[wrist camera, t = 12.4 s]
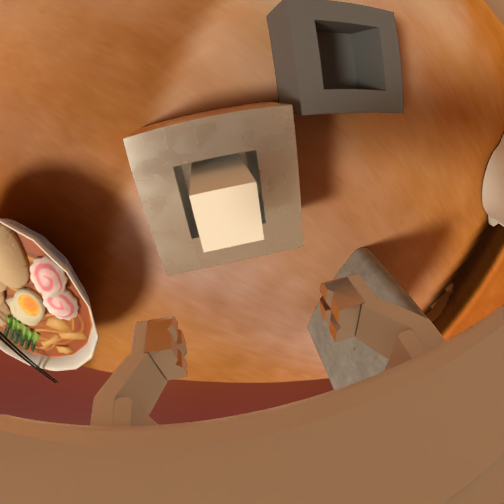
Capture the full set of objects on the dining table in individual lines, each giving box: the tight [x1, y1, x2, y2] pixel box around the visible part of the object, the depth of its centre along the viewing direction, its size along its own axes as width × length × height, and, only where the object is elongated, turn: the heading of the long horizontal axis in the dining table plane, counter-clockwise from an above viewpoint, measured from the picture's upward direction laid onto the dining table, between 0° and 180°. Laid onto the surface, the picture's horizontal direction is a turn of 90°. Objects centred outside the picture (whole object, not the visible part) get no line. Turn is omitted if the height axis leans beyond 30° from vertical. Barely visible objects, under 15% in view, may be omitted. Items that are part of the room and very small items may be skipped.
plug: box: [189, 153, 264, 252], centre depth 21 cm, size 4×4×10 cm
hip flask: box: [308, 247, 428, 390], centre depth 30 cm, size 16×4×20 cm, turn 160°
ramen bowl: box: [0, 218, 99, 383], centre depth 24 cm, size 25×23×8 cm
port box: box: [123, 102, 303, 276], centre depth 23 cm, size 12×12×7 cm
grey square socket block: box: [267, 0, 404, 115], centre depth 19 cm, size 10×10×6 cm
